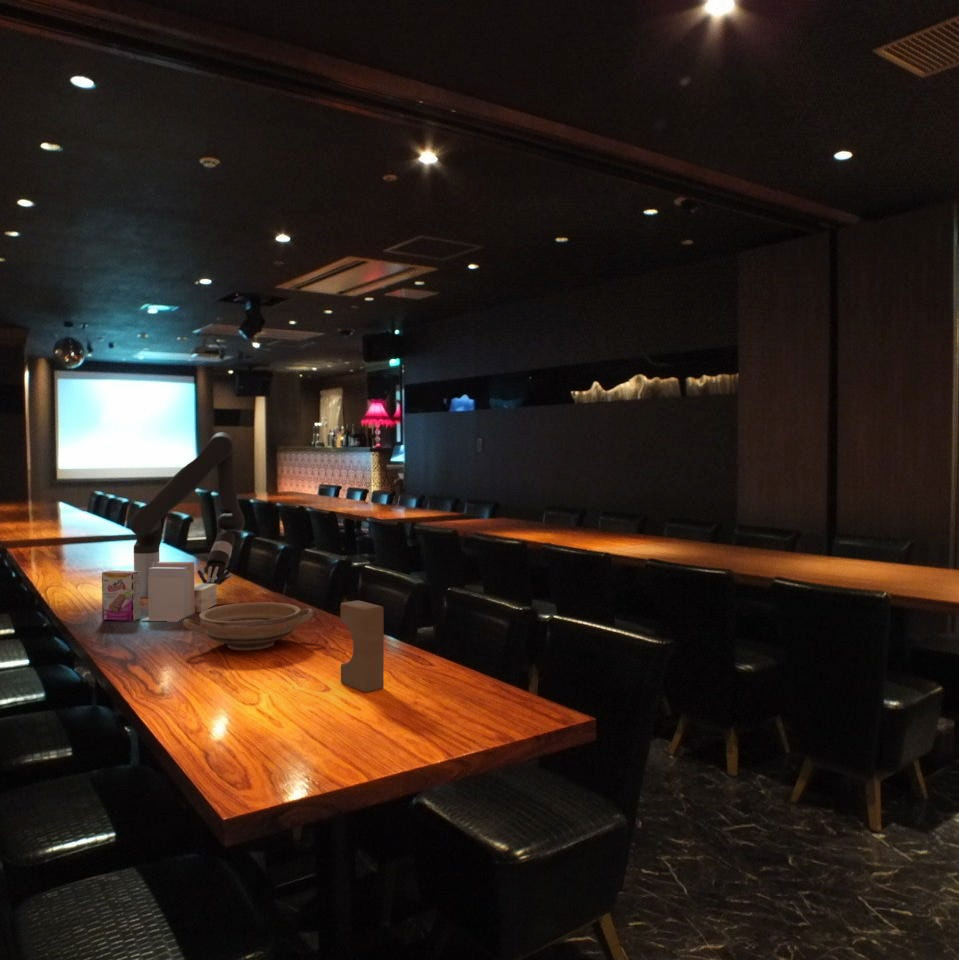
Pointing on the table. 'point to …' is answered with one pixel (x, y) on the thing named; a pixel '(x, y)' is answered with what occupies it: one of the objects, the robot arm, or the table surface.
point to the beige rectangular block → (205, 596)
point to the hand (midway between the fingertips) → (207, 592)
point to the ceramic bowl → (249, 623)
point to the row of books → (170, 591)
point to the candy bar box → (121, 595)
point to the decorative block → (364, 646)
